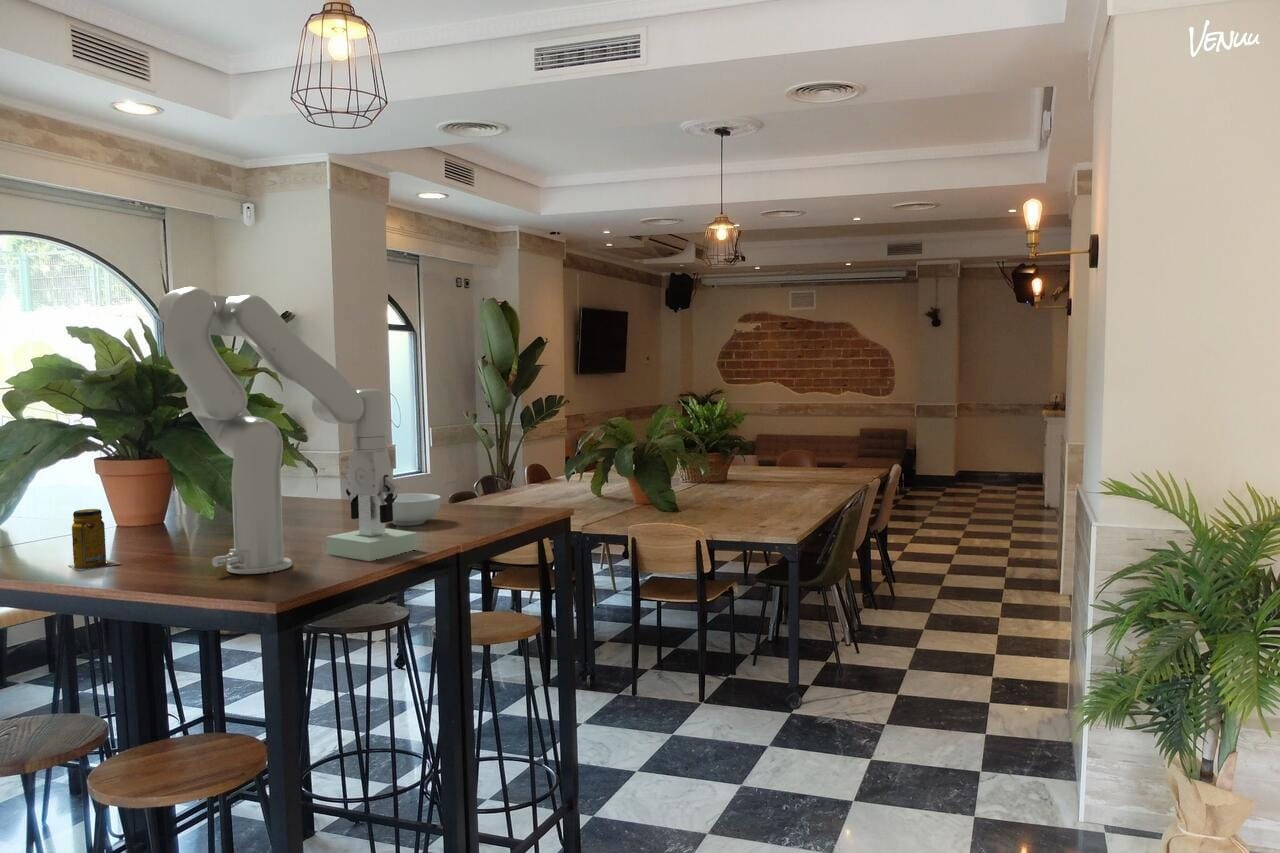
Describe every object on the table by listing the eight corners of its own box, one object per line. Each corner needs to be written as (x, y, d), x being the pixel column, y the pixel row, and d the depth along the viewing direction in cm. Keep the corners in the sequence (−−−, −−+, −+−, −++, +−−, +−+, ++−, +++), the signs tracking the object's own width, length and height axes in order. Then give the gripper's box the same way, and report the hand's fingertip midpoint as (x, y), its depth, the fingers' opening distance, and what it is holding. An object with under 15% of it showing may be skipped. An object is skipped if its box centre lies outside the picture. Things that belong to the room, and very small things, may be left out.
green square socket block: (369, 561, 207) (368, 542, 206) (327, 554, 214) (326, 536, 214) (417, 550, 218) (417, 532, 218) (376, 543, 226) (375, 526, 226)
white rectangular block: (371, 554, 214) (370, 492, 213) (359, 552, 216) (358, 490, 215) (385, 551, 217) (384, 490, 216) (373, 549, 219) (372, 488, 218)
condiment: (68, 566, 205) (65, 510, 204) (112, 560, 210) (109, 505, 209) (77, 571, 199) (74, 514, 198) (121, 565, 205) (119, 509, 204)
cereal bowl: (425, 529, 244) (424, 502, 244) (364, 528, 248) (364, 500, 247) (451, 518, 261) (450, 492, 260) (394, 517, 264) (393, 491, 264)
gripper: (330, 443, 216) (333, 519, 218) (382, 447, 207) (385, 526, 208) (357, 441, 223) (359, 514, 224) (409, 444, 213) (411, 521, 214)
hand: (371, 520), depth 216 cm, fingers open, 9 cm apart
